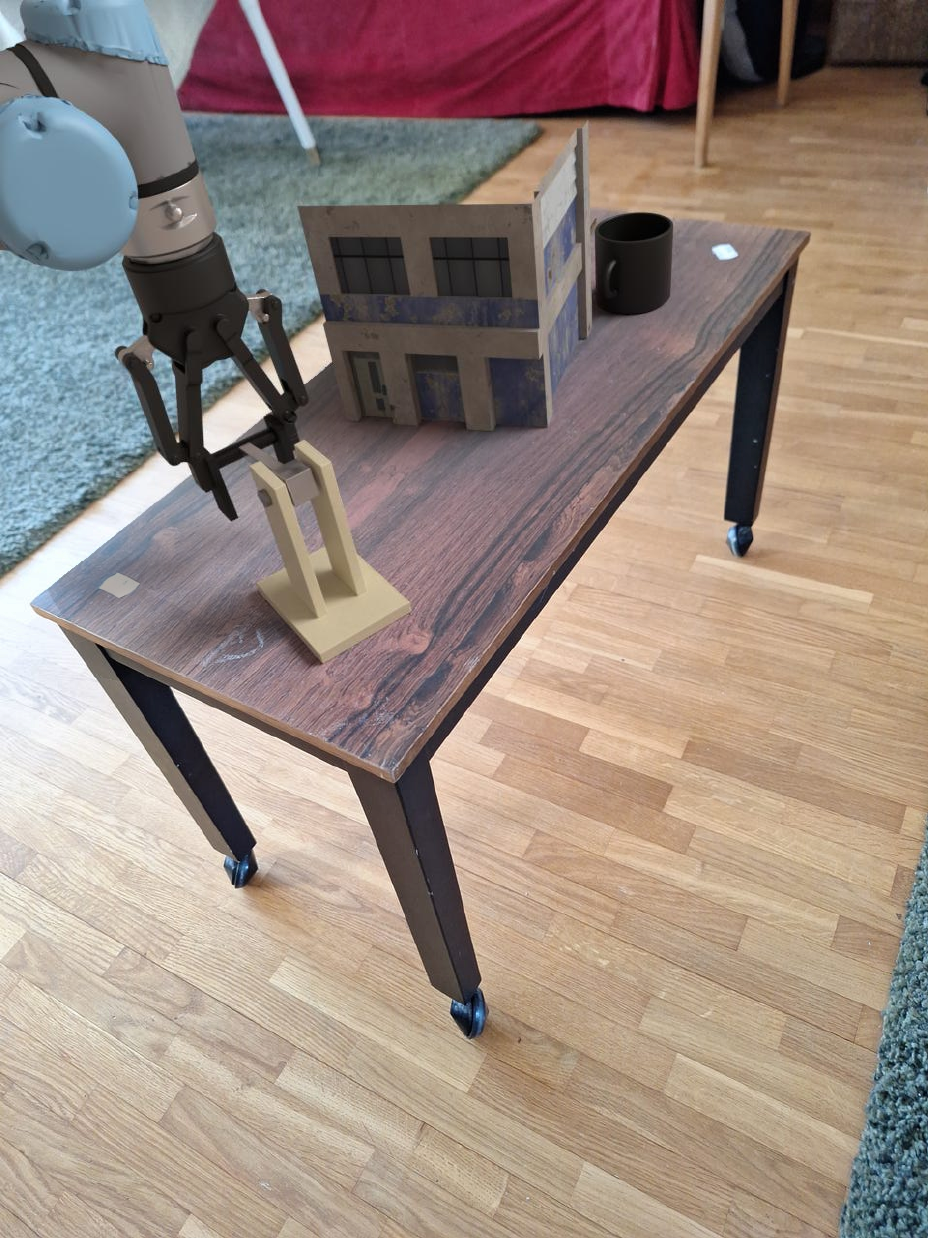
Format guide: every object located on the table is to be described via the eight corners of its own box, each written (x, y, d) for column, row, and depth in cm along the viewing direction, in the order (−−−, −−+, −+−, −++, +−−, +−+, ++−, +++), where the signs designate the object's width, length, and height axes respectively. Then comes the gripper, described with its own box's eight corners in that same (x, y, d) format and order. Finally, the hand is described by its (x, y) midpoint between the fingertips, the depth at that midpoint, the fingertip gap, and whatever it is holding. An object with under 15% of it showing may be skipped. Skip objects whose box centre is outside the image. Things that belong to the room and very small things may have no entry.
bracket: (259, 592, 78) (205, 457, 68) (342, 547, 82) (303, 411, 71) (322, 664, 71) (273, 524, 61) (412, 611, 74) (379, 470, 64)
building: (346, 420, 98) (293, 208, 82) (418, 321, 113) (386, 127, 97) (544, 434, 91) (529, 206, 75) (592, 327, 106) (588, 119, 90)
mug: (571, 316, 109) (569, 244, 103) (618, 277, 115) (618, 207, 109) (638, 329, 105) (639, 255, 98) (683, 288, 111) (687, 216, 104)
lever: (215, 472, 75) (204, 448, 74) (275, 444, 78) (265, 420, 76) (274, 518, 66) (263, 491, 64) (340, 484, 68) (331, 457, 67)
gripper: (59, 304, 57) (182, 564, 73) (306, 212, 64) (369, 468, 80) (28, 275, 62) (150, 525, 78) (261, 191, 68) (329, 438, 85)
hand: (261, 496), depth 79 cm, fingers closed on lever, 6 cm apart
